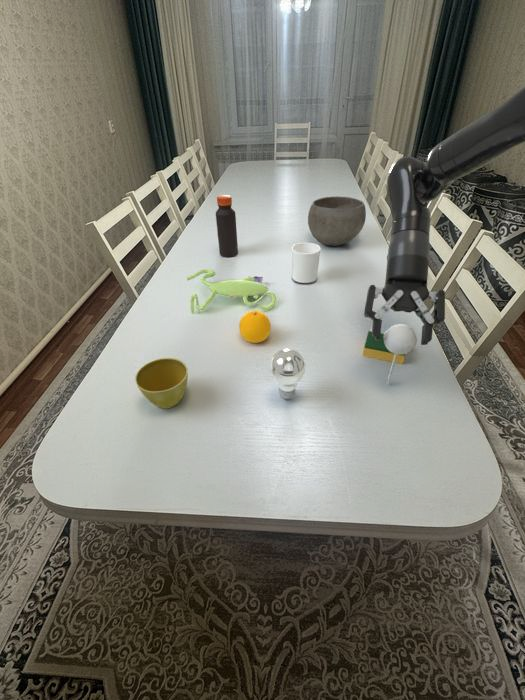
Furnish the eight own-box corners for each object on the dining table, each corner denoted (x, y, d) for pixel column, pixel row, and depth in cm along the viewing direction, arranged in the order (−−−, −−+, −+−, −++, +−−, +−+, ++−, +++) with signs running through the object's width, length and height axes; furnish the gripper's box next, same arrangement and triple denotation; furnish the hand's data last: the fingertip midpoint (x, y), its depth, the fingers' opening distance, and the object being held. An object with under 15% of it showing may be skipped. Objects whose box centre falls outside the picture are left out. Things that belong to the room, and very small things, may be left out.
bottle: (235, 258, 129) (231, 200, 116) (217, 257, 130) (211, 199, 117) (240, 250, 134) (236, 194, 122) (222, 249, 135) (217, 193, 123)
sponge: (404, 349, 86) (407, 338, 84) (402, 364, 82) (405, 353, 80) (366, 341, 89) (368, 330, 87) (362, 355, 84) (364, 345, 82)
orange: (235, 333, 93) (233, 308, 88) (264, 326, 95) (263, 301, 90) (245, 350, 87) (244, 325, 82) (275, 343, 89) (276, 317, 84)
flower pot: (171, 376, 80) (165, 351, 76) (202, 396, 75) (198, 370, 71) (133, 402, 74) (124, 376, 70) (164, 426, 69) (156, 400, 65)
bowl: (317, 229, 149) (320, 191, 140) (367, 236, 142) (373, 197, 133) (298, 247, 135) (300, 206, 126) (353, 256, 128) (359, 213, 118)
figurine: (191, 283, 115) (188, 267, 111) (274, 281, 114) (274, 265, 111) (181, 314, 100) (177, 297, 97) (276, 312, 100) (276, 294, 96)
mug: (309, 288, 110) (311, 256, 104) (285, 280, 115) (285, 249, 108) (326, 274, 117) (329, 244, 111) (303, 267, 121) (305, 238, 115)
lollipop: (367, 383, 77) (379, 325, 68) (383, 370, 80) (397, 314, 71) (392, 398, 73) (409, 340, 64) (408, 385, 76) (426, 327, 67)
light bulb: (267, 388, 77) (266, 343, 69) (298, 383, 77) (301, 339, 70) (273, 412, 71) (273, 367, 64) (307, 407, 72) (311, 361, 65)
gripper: (372, 250, 67) (364, 335, 65) (454, 254, 65) (447, 343, 63) (367, 264, 74) (359, 341, 73) (440, 269, 72) (434, 348, 70)
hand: (400, 342), depth 68 cm, fingers open, 8 cm apart
